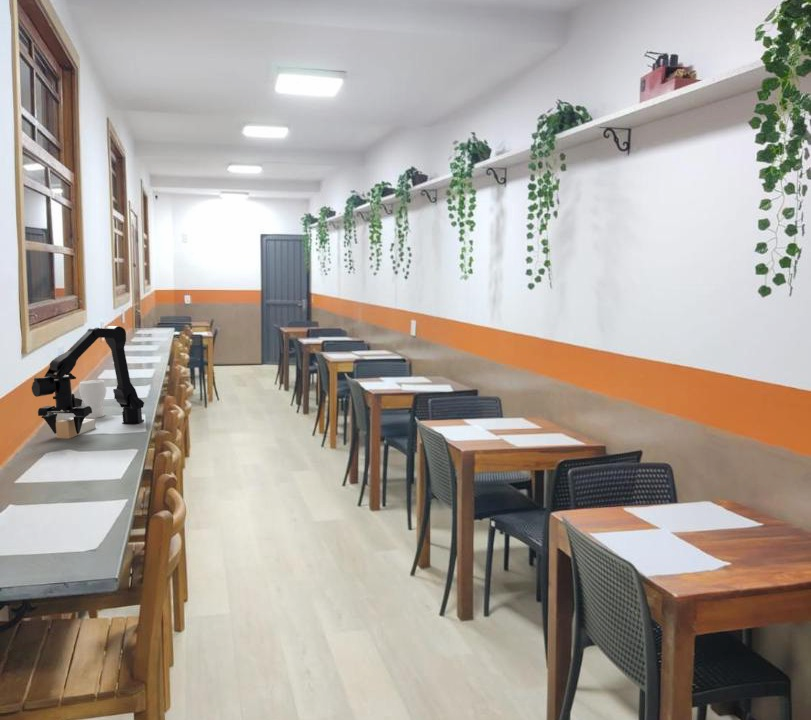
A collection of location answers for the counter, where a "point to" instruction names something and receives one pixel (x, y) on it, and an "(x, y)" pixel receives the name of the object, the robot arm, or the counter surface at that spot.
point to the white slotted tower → (87, 425)
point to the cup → (93, 396)
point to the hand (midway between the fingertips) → (66, 433)
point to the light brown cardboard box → (66, 428)
